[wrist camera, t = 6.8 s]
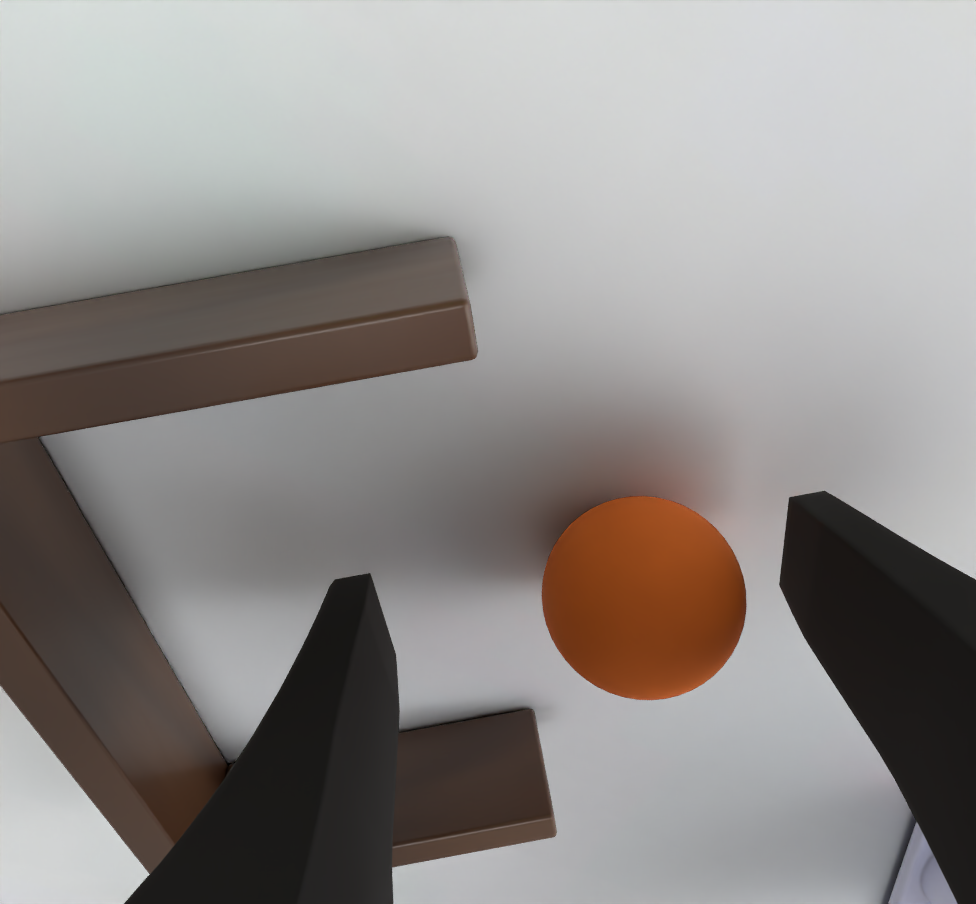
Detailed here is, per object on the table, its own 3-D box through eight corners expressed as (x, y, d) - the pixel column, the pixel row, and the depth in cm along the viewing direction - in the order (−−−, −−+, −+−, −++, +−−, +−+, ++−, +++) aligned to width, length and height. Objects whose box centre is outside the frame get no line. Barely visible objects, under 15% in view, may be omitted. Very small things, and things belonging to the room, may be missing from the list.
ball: (758, 643, 10) (512, 590, 11) (722, 761, 12) (523, 710, 13) (767, 472, 12) (566, 442, 13) (736, 598, 14) (567, 565, 15)
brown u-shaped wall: (453, 233, 10) (469, 299, 8) (537, 728, 17) (558, 838, 15) (-86, 327, 10) (-215, 419, 8) (204, 789, 17) (176, 909, 14)
